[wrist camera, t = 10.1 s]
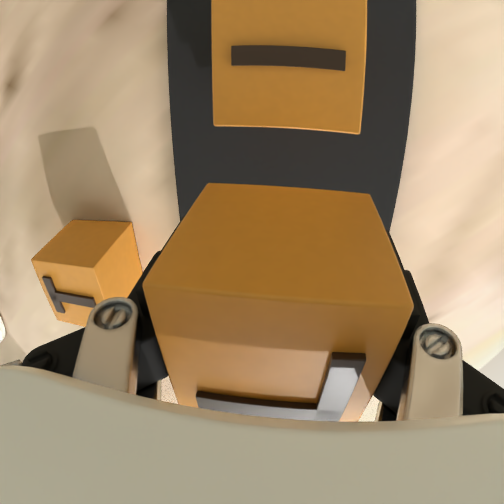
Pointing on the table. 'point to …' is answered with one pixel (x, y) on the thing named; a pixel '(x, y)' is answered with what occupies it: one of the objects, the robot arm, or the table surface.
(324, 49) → the letter I
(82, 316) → the letter T
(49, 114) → the table surface
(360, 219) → the letter L
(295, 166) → the word mat
